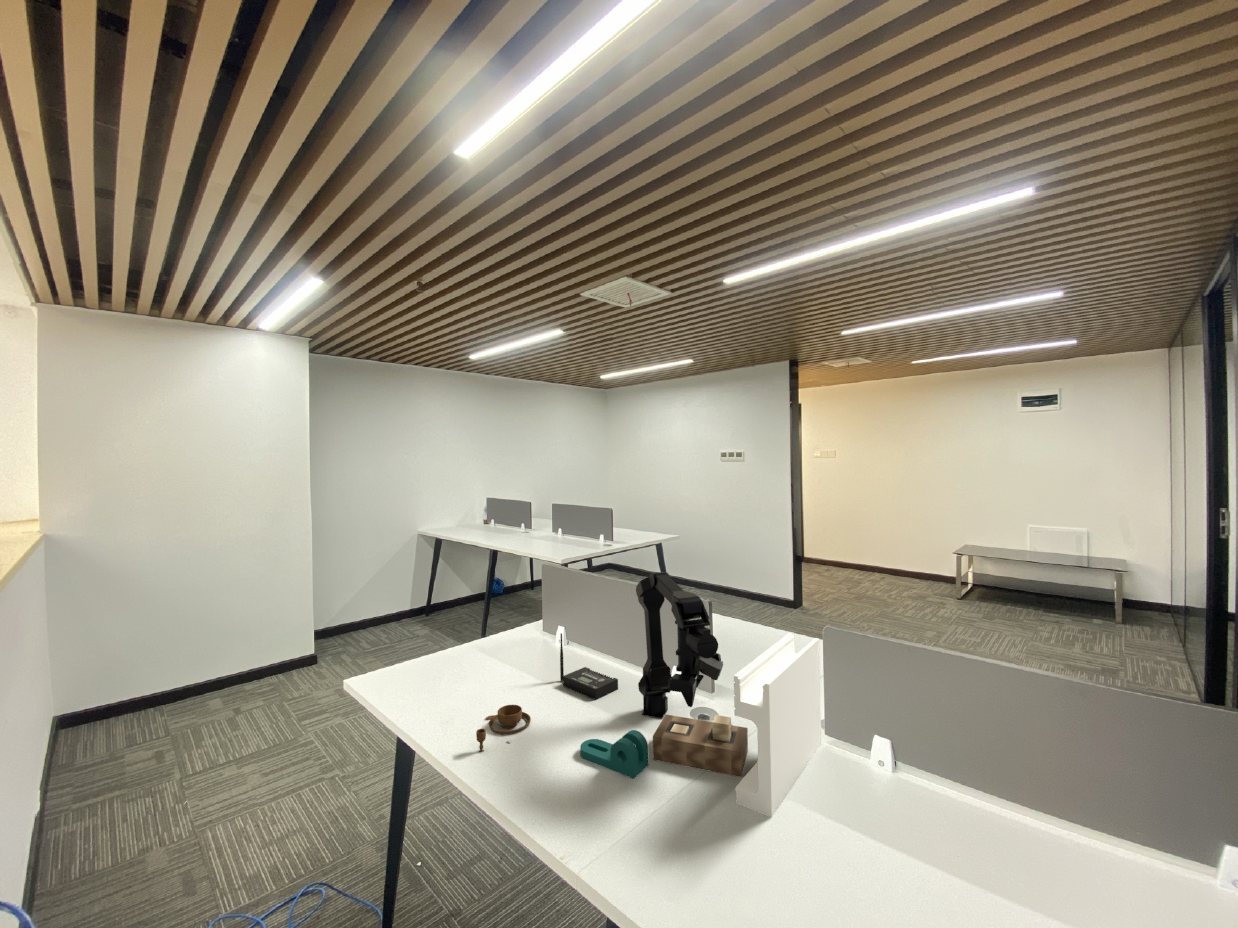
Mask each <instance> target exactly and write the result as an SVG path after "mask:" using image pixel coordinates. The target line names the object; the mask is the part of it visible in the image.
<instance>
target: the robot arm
mask: <svg viewBox="0 0 1238 928" xmlns="http://www.w3.org/2000/svg"><path fill="white" fill-rule="evenodd" d="M635 593H636V596H637V601H638V602H639V604H640V606H641V607H642V609H643V611H644V626H645V639H646V640H645V641H646V643H645V644H646V654H647V656H646V658H647V659H646V662H644V665H643V667H642V676H641V678H640V679H639V682H638V684H637V686H638V691H639V692H640V694H641V695H642V699H643V710H642V711H641V716H644V717H649V718H650V717H651V718H656V719H663V718H664V717H665V715H667V712H668V710H669V703H668V702H669V701H668V699H669V698H668V696H667V694H668V693H669V694H670V693H671V692H676V693H677V692H678V693H681V695H682V697H683V699H684V700H685V703H686V705H687V707H689V708H692V707H693V705H694V701H695V697H696V692H697V688H698V687H699V685H700V684H701V682H702V680H703V679H704V677H705V676H707V677H709V678H710V679H711V680H713V681H718V679H719V678H720V675H721V673H722V671H723V670H722V669H723V668H724V661H722V656H721V654H720V653H718V650H719V642H718V639H717V638H716V636H715V635H713V634H711V628H708V627H707V626H711V623H710V616H709V613H708V611H707V609H706V607H705V604H704V601H703V600H702V599H701V597H700V596H699V595H697V594H696V593H693V592H690V591H686V590H684V589H683V588H682V587H681V586H680V585H678V584H677V583H676V582H675V580H673V579H672V578H671V577H670V574H669V573H668V572H667V571H666V572H665V571H660V572H652V573H650V575H648V576H647V577H645V578H644V579H642V580H640V581H639V582H638V583H637V584H636V587H635ZM665 599H666V601H667V602H668V603H670V605H671V608H670V609H671V613H672V615H673V617H674V618H675V620H674V624H676V625H677V630H676V631H677V649H676V650H675V656H677V661H678V663H677V666H676V667H675V671H676V672H680V673H674V674H673V675H672V674H671V668H670V666H669V665H668V664H667V663H666V660H664V650H663V635H662V622H661V608H662V606H663V604H664V603H665ZM700 673H701V674H700Z"/></svg>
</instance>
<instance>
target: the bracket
mask: <svg viewBox="0 0 1238 928" xmlns="http://www.w3.org/2000/svg"><path fill="white" fill-rule="evenodd" d="M648 744H649V743H648V740H647V739H646V737H645V735H644V734H642V732H640V731H638V730H636V729H631V730H629V731H628V732H627V733H625V734H624V735H622V737H621V738H619V739H618V740H617V741H615V742H614V743H611V742H607V741H604V740H603V739H598V738H591V739H587V740H584V741H583V742H582V743H580V746H579V748H580V749H579V750H580V757H581V758H582V760H584V761H587V762H590V763H592V764H595V765H597V766H600V767H602V768H605V769H607V770H610V771H613V772H615V773H618V774H620V775H623V776H625V777H627V778H631V779H633V780H635V778H636V777H638V775H640V774H641V773H642V772H643V771H644V770H645V769H646V768H648V766H649V745H648Z"/></svg>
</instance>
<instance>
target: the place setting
mask: <svg viewBox="0 0 1238 928" xmlns="http://www.w3.org/2000/svg"><path fill="white" fill-rule="evenodd" d="M522 718H523V719H525V720H526V722H527V723H526V724H524V725H523V726H521V727H519V728H516V729H510V728H514V727H516V726H517V725H518V724H519V723H520V722H521V720H522ZM485 719H486V720H487V721H488V727H489V730H490V731H492V732H493V733H494V734H497V735H502V736H508V735H509V736H510V735H515V734H518V733H520V732H523V731H524V730H526V729H527V728H528V727H529V726H530V723H531V720H532V718H531V715H530V714H528V713H527V712H524V711H523V708H522V706H520V705H518V704H506V705H503V706H501V707H500V708H498V710H497V714H494V715H493V714H492V715H488V716H486V717H485ZM496 722H498V723H499V724H500V725H501V726H502V727H503V728H506V729H510V730H501V729H500V730H499V729H495V728H494V727H493V725H494V724H495V723H496ZM475 733H476V735H475V736H476V741H477V742H478V743H479V745H478V747H479V751H478V752H479V753H480V754H481V753H483V752H484V751H485V750H484V742H486V738H487V730H486V729H485V728H479V729H477V730H476V731H475ZM505 743H506V744H509V745H510V744H511V742H509V741H508V740H507V741H505Z"/></svg>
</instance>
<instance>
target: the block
mask: <svg viewBox="0 0 1238 928" xmlns="http://www.w3.org/2000/svg"><path fill="white" fill-rule="evenodd" d="M795 645H796V643H795V635H793V633H791V632H789V633H786V635H784V636H783V637H781V639H779V640H778V641H777V642H775V643H774V644H773V645H772V646H770V647H769V648H767V649H766V650H765V651H764V652H762V653H761V654H759V655H758V656H757V657H756V658H755V659H754V660H752V661H751V662H749V663H748V664H747V665H746V666H744V667H743V668H741V669H740V670H739V671H738V672H737V673H736V672H735V674H734V675H733V682H734V683H733V694H734V696H733V706H734V707H733V708H734V710H733V711H734V713H733V714H734V716H736V717H739V718H742V719H745V720H748V721H751V722H752V723H753V724H754V725H755V727H756V729H757V734H756V735H757V761H756V763H755V764H754V765H753V766H752V768H751V769H749V771H748V772H747V773H746V775H745V776H744V777H742V779H741V780H740V782H739V783H738V784H737V785H736V786H735V791H736V792H735V797H736V799H735V802H736V803H735V804H738V805H741V806H743V807H745V808H746V809H747V808H748V809H750V810H752V811H755V812H758V813H760V814H762V815H765V816H767V817H769V818H774V815H776V813H777V810H778V809H779V807H780V806H781V805H782V803H784V800H785V799H786V797H787V796H788V795H789V794H790V792H791V790H792V788H793V787H794V786H795V784H796V782H797V781H798V780H799V778H800V777H801V775H802V774H803V773H804V771H805V770H806V768H807V766H809V763H810V762H811V760H812V759H813V758H814V756H815V754H816V753H817V751H818V750H819V748H820V747H821V746H822V716H821V715H822V713H821V712H822V710H821V669H820V668H821V667H820V665H821V663H820V662H821V661H820V660H821V659H820V657H821V656H820V638H817V637H815V638H813V639H812V640H811V641H810V642H809V643H807V645H806V646H804V647H803V648H802V649H801V650H800V651H798V652H797V653H796V652H795V650H796V649H795V648H796V647H795Z"/></svg>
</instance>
